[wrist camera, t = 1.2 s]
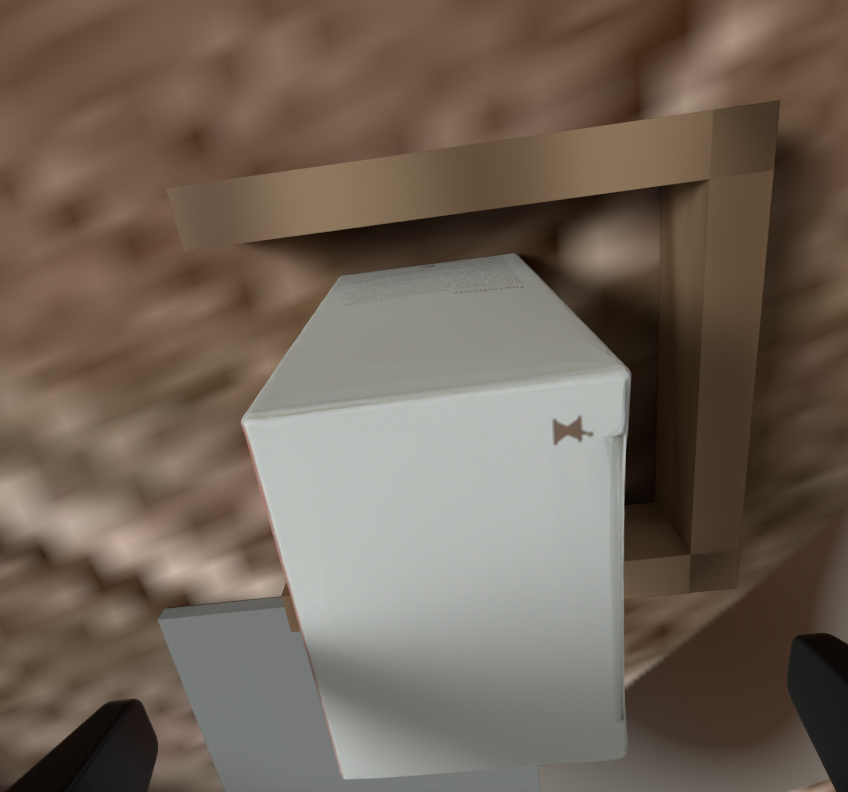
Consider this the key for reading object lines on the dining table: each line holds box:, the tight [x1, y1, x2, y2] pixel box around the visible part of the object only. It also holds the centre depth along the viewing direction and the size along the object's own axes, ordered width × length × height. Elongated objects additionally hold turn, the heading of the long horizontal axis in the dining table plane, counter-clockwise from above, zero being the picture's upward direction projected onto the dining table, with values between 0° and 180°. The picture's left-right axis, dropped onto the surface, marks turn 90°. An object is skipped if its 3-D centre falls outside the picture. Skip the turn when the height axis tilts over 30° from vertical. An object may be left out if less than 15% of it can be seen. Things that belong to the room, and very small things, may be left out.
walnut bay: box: [166, 100, 780, 632], centre depth 17 cm, size 14×14×3 cm
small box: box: [241, 253, 631, 780], centre depth 14 cm, size 8×6×10 cm
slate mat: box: [158, 597, 540, 792], centre depth 24 cm, size 14×14×1 cm
